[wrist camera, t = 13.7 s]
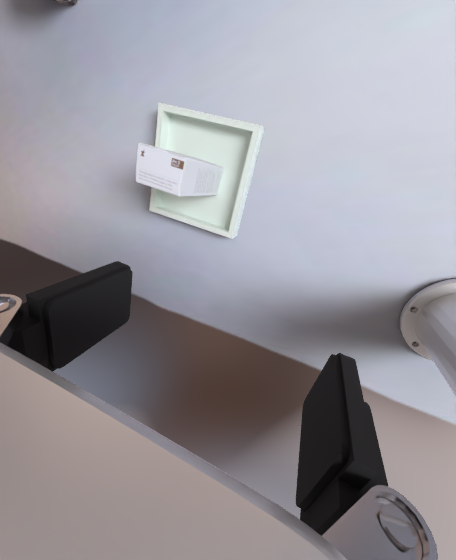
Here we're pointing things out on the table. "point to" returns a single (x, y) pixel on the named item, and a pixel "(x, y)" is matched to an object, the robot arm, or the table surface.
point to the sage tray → (215, 149)
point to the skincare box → (176, 172)
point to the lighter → (67, 2)
